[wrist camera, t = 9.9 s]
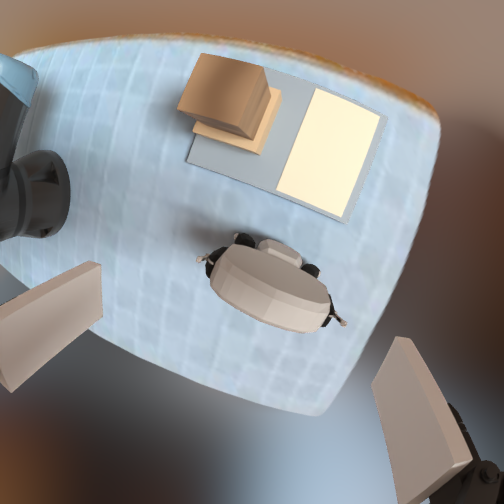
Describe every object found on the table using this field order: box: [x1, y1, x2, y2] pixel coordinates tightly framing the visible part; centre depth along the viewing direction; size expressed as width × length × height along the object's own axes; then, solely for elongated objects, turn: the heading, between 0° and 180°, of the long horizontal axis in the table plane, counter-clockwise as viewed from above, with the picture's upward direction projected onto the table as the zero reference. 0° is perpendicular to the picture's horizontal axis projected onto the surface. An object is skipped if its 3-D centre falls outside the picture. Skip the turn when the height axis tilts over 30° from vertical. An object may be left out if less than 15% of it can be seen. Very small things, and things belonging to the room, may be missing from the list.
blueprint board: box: [187, 67, 388, 225], centre depth 27 cm, size 20×14×5 cm
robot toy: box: [196, 233, 347, 333], centre depth 26 cm, size 12×4×15 cm, turn 67°
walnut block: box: [177, 53, 271, 141], centre depth 21 cm, size 5×5×8 cm
